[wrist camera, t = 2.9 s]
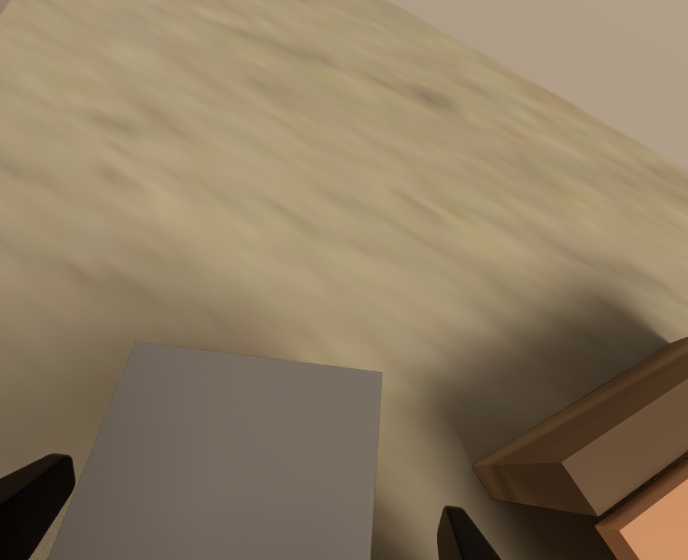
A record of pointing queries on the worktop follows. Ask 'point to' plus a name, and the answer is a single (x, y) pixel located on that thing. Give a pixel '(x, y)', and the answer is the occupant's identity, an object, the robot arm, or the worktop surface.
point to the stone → (228, 462)
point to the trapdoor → (652, 520)
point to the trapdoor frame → (599, 441)
